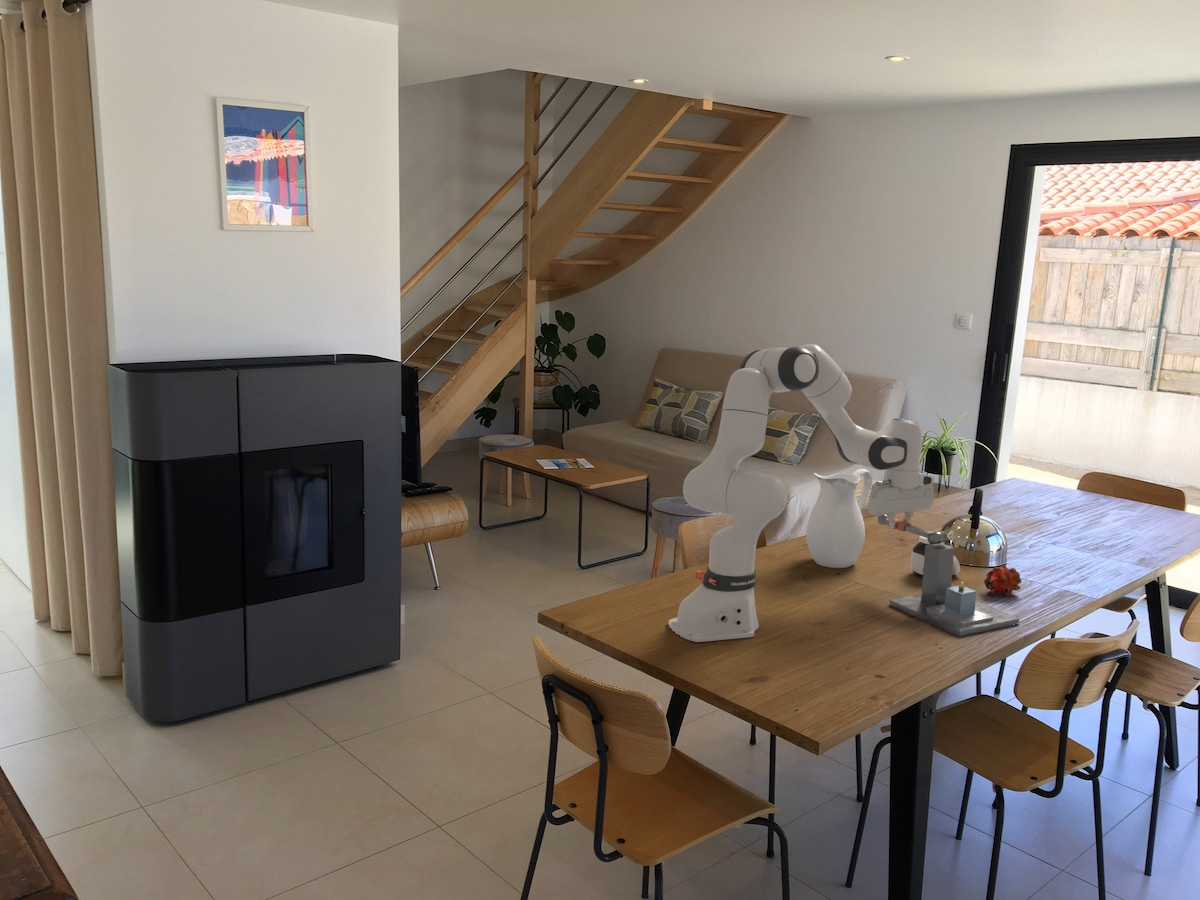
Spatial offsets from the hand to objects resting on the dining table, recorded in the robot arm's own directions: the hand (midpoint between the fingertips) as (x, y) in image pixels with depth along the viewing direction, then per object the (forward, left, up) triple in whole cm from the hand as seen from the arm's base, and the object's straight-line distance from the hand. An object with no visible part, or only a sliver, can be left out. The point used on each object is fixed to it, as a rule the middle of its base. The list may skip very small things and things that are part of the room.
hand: (898, 527), depth 259 cm
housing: (-2, -25, -15) cm, 29 cm away
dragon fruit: (+24, -15, -18) cm, 33 cm away
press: (0, -21, -18) cm, 27 cm away
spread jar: (+20, +5, -18) cm, 27 cm away
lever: (0, -4, -1) cm, 4 cm away
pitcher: (+4, +27, -18) cm, 33 cm away
